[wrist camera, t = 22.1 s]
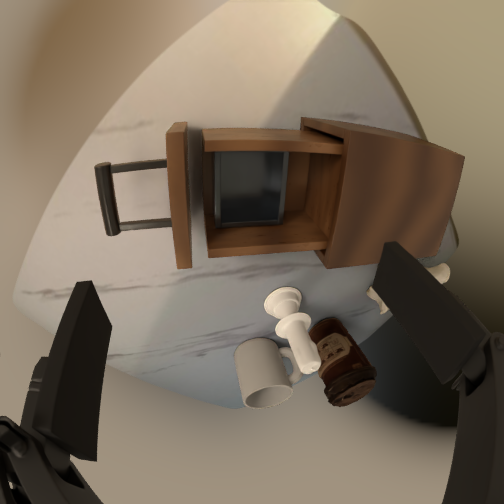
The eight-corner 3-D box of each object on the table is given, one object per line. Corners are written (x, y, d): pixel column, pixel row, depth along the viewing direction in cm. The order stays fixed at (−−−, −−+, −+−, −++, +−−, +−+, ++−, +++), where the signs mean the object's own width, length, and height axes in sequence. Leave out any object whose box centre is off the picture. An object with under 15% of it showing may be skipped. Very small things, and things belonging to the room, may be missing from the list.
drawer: (122, 230, 26) (104, 274, 20) (109, 130, 21) (77, 145, 14) (305, 218, 30) (336, 256, 23) (315, 124, 24) (357, 138, 18)
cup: (226, 345, 40) (236, 395, 33) (289, 324, 40) (308, 371, 33) (241, 368, 44) (251, 412, 37) (296, 349, 44) (313, 392, 37)
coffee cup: (288, 341, 42) (315, 410, 32) (322, 306, 40) (359, 376, 29) (324, 350, 46) (351, 409, 36) (355, 319, 43) (391, 378, 33)
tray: (212, 212, 26) (215, 228, 23) (211, 140, 22) (214, 146, 20) (272, 209, 27) (283, 224, 24) (277, 140, 24) (290, 147, 21)
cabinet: (291, 220, 31) (326, 269, 23) (301, 116, 25) (350, 130, 17) (390, 217, 33) (436, 255, 25) (407, 134, 27) (465, 156, 19)
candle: (286, 279, 35) (320, 351, 25) (308, 298, 38) (342, 365, 28) (255, 304, 36) (279, 378, 27) (279, 320, 39) (306, 388, 29)
